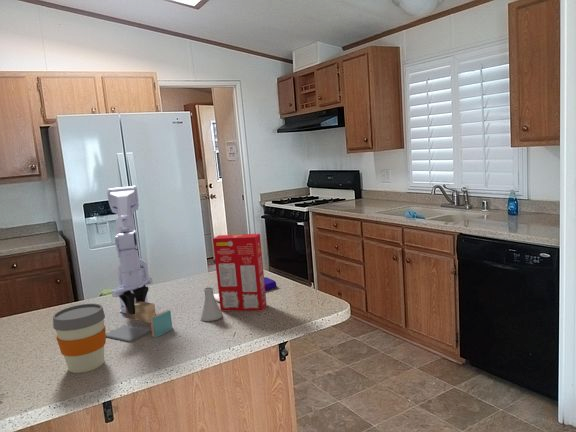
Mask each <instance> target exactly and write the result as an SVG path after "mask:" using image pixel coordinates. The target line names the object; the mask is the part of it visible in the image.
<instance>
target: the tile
mask: <svg viewBox="0 0 576 432" xmlns="http://www.w3.org/2000/svg"><path fill="white" fill-rule="evenodd" d="M171 313H172V312H171V310H170V309H166V310H164V311H162V312H159V313H157V314H156V315H155V316H153V317H151V318H150V322H149V323H150V330H151V335H152V336H151V337H153V338H157V337H159V336H161V335H164V334H165V333H167V332H169V331H171V330H173V321H172V314H171Z"/></svg>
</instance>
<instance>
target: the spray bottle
mask: <svg viewBox="0 0 576 432" xmlns="http://www.w3.org/2000/svg"><path fill="white" fill-rule="evenodd" d="M264 283H265V292H268V291H271V290H274V289H276V288H277V282H276V280H274V279H271V278H269V277H267V276H264ZM213 295H214V298H215V300H216V302H219V303H220V299H219V293H213Z"/></svg>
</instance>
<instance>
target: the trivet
mask: <svg viewBox="0 0 576 432" xmlns="http://www.w3.org/2000/svg"><path fill="white" fill-rule="evenodd" d="M150 333H152V329H147V328H142V327H137V326H136V327H135V326H130V325H127V324H126V325H125V324H124V325H122V326H120V327H118V328H115V329H113V330H111V331H108V332H107V333H106V338H109V339H114V340H118V341H124V342H127V343H132V342H134V341H136V340H138V339H140V338H142V337H143V336H146V335H147V334H150Z"/></svg>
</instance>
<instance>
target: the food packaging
mask: <svg viewBox="0 0 576 432" xmlns="http://www.w3.org/2000/svg"><path fill="white" fill-rule="evenodd" d="M212 241H213V252H214V261H215V262H214V263H215V271H216V279H217V290H218V294H219V299H220V302H219V308H220V310H221V312H233V311H234V312H235V311H236V312H238V311H239V312H241V311H243V312H244V311H245V312H246V311H247V312H248V311H254V312H255V311H257V312H258V311H260V312H261V311H264V309H265V308H266V307H267V296H266V294H267V292H266V291H265V283H264V277H265V273H264V263H263V252H262V242H261V241H262V240H261V234H260V233H246V234H223V235H222V234H220V235H216V236H215V237H214V238H212Z"/></svg>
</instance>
